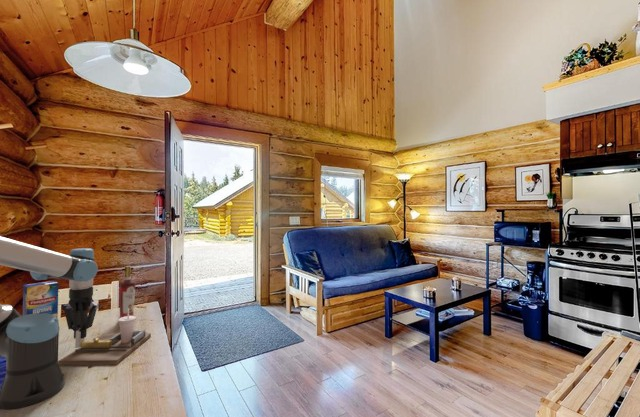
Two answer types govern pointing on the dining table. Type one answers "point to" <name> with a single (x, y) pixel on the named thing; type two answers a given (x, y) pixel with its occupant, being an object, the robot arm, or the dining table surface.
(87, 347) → the bar
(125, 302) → the liquor
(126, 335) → the smoothie
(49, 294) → the blue food box
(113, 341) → the collar
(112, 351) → the board
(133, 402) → the dining table surface
